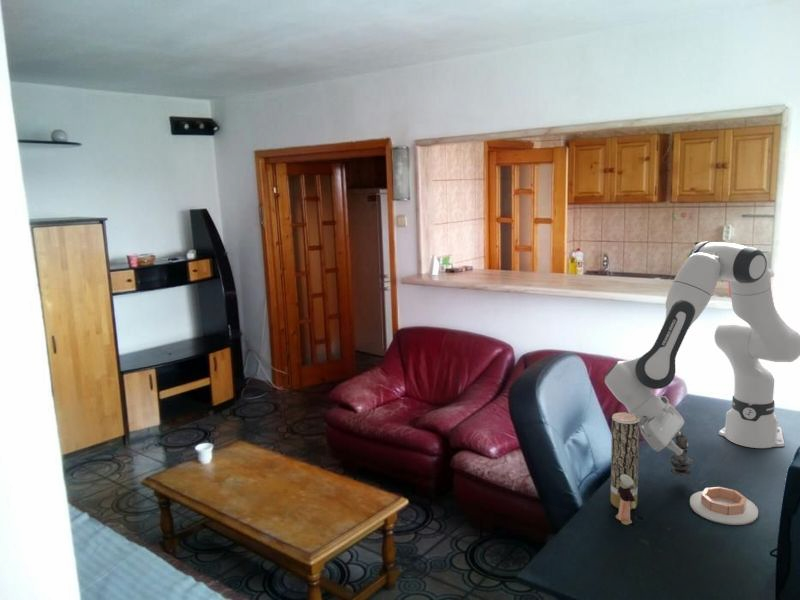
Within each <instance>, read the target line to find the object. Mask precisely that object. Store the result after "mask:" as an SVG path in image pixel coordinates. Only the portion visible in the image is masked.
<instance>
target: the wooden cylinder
mask: <svg viewBox="0 0 800 600" xmlns="http://www.w3.org/2000/svg"><path fill="white" fill-rule="evenodd" d="M639 444H640V426H639V416H637V415H635V414H632V413H629V412H625V411H624V412H623V411H622V412H615V413H613V414H612V415H611V448H610V449H611V455H610V456H611V457H610V503H611V504H612V506H613V507H615V508H616V509H619V506H620V496H617V493H618V489H619V487H620V481H621V480H620V476H621V475H622V474H625V475H628V476H630V477H631V479H632V480H633V482H634V484H633V485H631V486H630V487H629V489H630V491H631V493H632V495H633V497H634V499H635V506H636V507H637V506H638V489H639V487H638V485H639V484H638V483H639V481H638V480H639V455H640V454H639V453H640V452H639V448H640V445H639ZM630 510H633V508H632V505H631V502H630Z"/></svg>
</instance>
